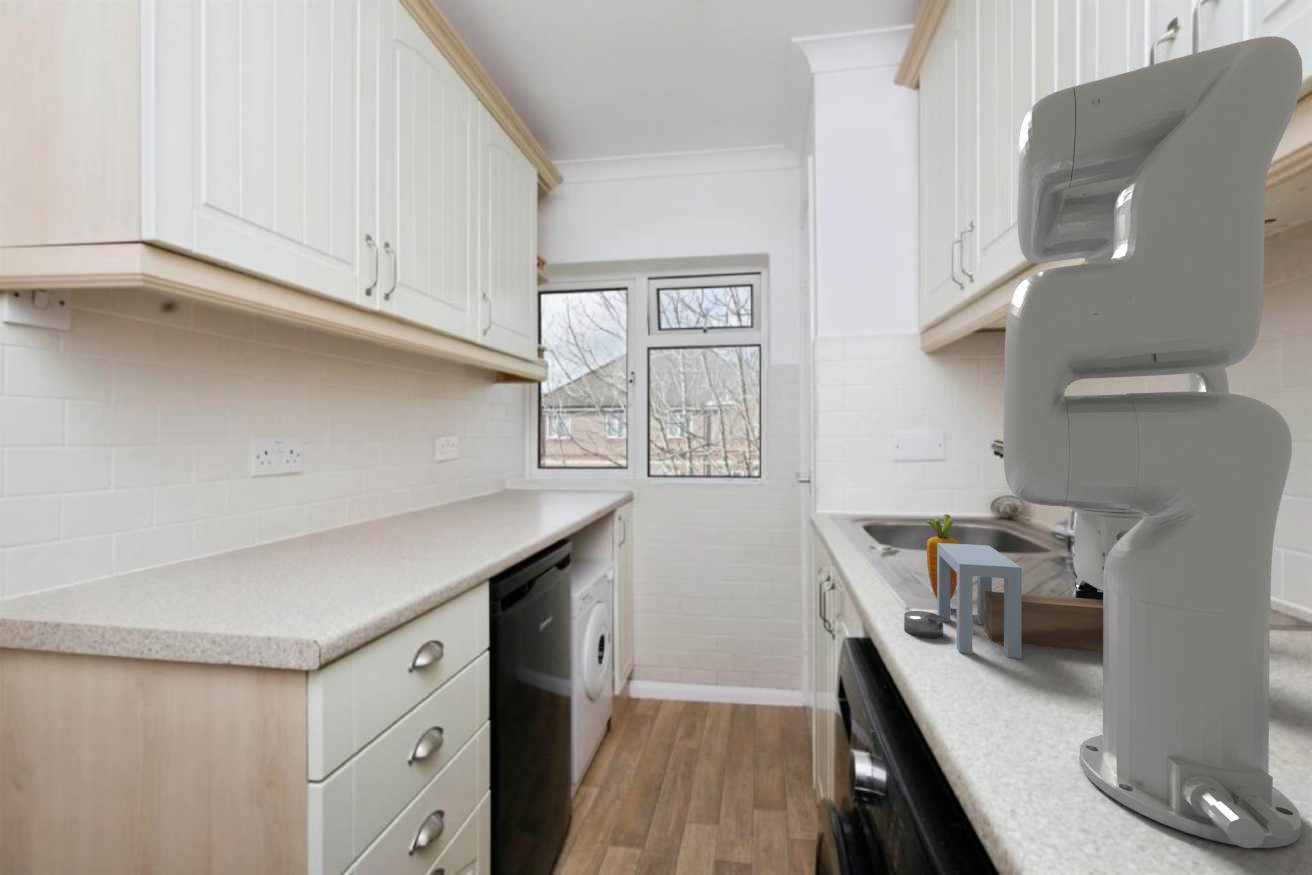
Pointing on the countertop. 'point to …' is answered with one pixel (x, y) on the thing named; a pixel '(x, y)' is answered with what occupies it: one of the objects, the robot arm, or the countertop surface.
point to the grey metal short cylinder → (923, 624)
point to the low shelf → (979, 591)
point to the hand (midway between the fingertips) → (1107, 631)
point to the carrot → (932, 553)
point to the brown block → (1049, 621)
